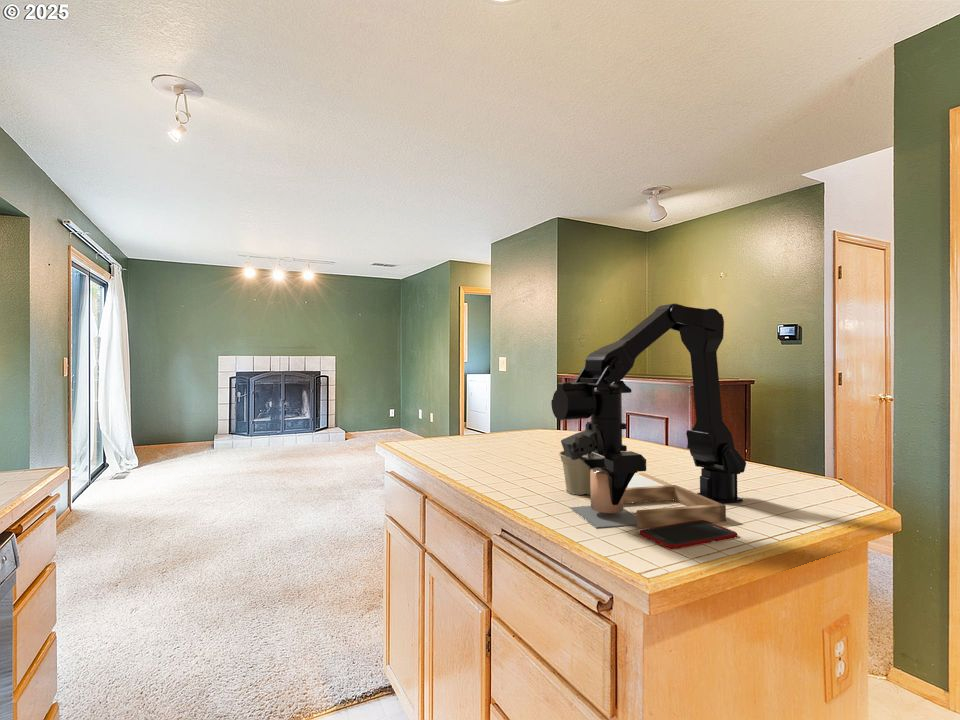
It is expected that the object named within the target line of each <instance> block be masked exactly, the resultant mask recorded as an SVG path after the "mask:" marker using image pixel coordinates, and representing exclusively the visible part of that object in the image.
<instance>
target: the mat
mask: <svg viewBox="0 0 960 720" xmlns="http://www.w3.org/2000/svg"><path fill="white" fill-rule="evenodd" d="M569 509H570V510H571V509H572V510H571V511H573V512H574V511H575V512H576V513H575V512H574V513H575V514H577V513H578V514H579V515H580V516H579V515H578V514H577V515H578V516H579V517H581V516H582V517H583V518H584V519H583V518H582V517H581V518H582V519H583V520H585V519H586V520H587V521H588V522H589V523H588V522H587V521H586V520H585V521H586V522H587V523H588V524H590V523H591V524H592V525H593V526H592V525H591V524H590V525H591V526H592V527H594V526H595V527H596V528H595V527H594V528H595V529H600V528H599V527H607V528H618V527H617V526H619V527H629V525H631V526H637V514H634V513H633V512H631V511H629V510H627V509H626V508H624V510H623V511H621V512H617V513H603V512H598V511H595V510H593V509H591V505H583V506H569Z"/></svg>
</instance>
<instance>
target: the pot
mask: <svg viewBox="0 0 960 720" xmlns="http://www.w3.org/2000/svg"><path fill="white" fill-rule="evenodd" d="M601 468H606V467H596V468H593V469H591V470H590V485H591V494H590V506H591V509H593V510H595V511H598V512H603V513H617V512H621V511H623V510H624V509H625V507H624V505H625V504H623V496H622V498H621V500H620V502H619V504H618V505H612V502H611V496H610V488H609V480H608V476H607V475H606V474H605V473H604V472H603V471H602V470H601Z"/></svg>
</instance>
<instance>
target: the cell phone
mask: <svg viewBox="0 0 960 720" xmlns="http://www.w3.org/2000/svg"><path fill="white" fill-rule="evenodd" d="M638 534H639V536H641V537H642V538H646V540H648V541H652V542H654V543H655V544H657V545H659V546H661V547H663V548H664V549H668V550H677V549H678V550H679V549H683V547H684V548H688V547H689V548H690V547H694V546H699V545H704V544H705V545H706V544H709V543H711V544H712V543H713V542H721V541H727V540H731V539H730V538H732V539H735V537H736V538H738V533H737V532H736V531H734V530H732V529H729V528H727V527H725V526H721V525H718V524H716V523H715V522H708V521H705V520H697V521H691V522H685V523H679V524H673V525H667V526H661V527H650V528H642V529H640V530H639V532H638ZM726 539H727V540H726Z"/></svg>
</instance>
